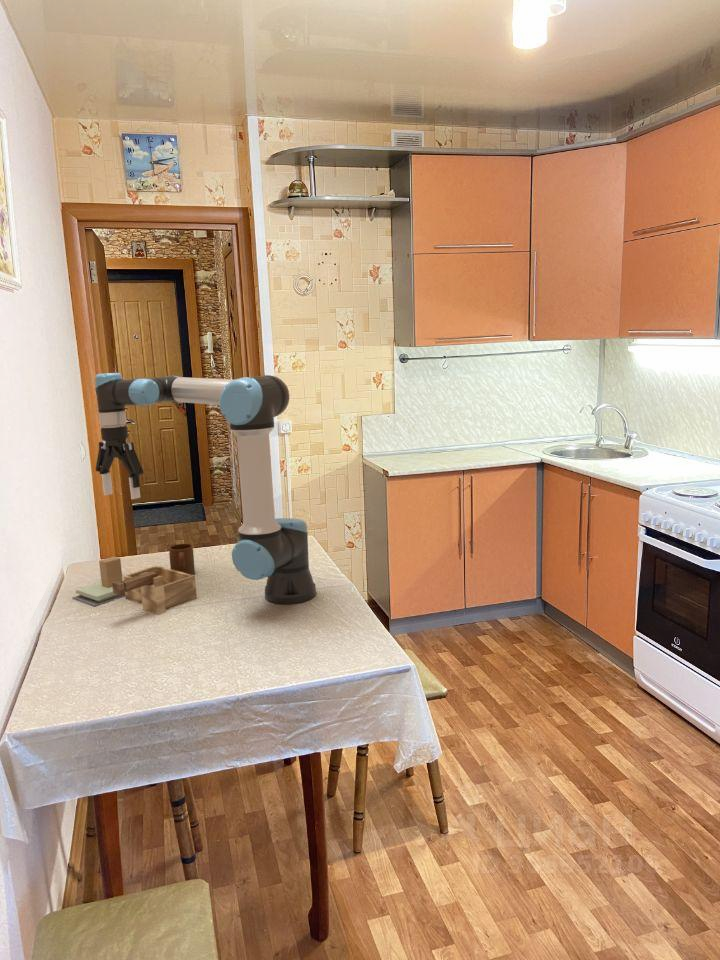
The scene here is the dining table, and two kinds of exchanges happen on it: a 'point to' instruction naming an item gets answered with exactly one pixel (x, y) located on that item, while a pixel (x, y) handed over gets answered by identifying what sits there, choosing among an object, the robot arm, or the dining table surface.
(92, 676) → the dining table surface
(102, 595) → the lid
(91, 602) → the mat
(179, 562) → the mug
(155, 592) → the toolbox
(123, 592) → the bar
